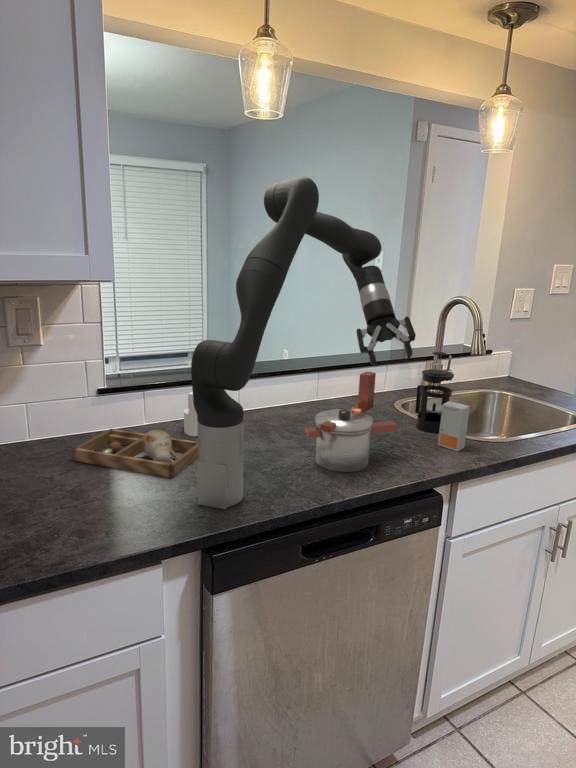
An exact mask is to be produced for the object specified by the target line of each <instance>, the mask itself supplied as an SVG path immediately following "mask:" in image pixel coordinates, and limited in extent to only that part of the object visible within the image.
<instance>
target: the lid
mask: <svg viewBox="0 0 576 768" xmlns="http://www.w3.org/2000/svg"><path fill="white" fill-rule="evenodd" d="M376 375H377V374H376V372H373V371H364V372H362V373H360V374H359V382H358V383H359V384H358V386H359V387H358V397H357V404H355V405H353V406H352V407H351V409H344V408H343V409H341V408H340V409H339V408H338V409H336V408H335V409H327V410H323V411H321V412H318V413H317V414H316V415H315V420H314V421H315V424H316V423H317V425H319V426H320V430H322V431H326V432H332V431H337V432H361V431H365V430H368V429H370V428H371V427H372V426H373V422H374V418H373V417H372V416H371V415H370V414H367V413H366V412H368V411H369V410H371V409H372V408H374V400H375V399H374V398H375V389H376V388H375V387H376ZM317 425H316V426H317Z"/></svg>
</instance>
